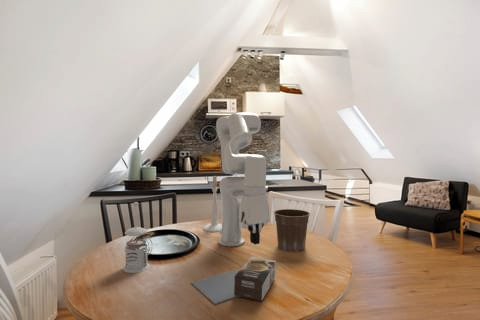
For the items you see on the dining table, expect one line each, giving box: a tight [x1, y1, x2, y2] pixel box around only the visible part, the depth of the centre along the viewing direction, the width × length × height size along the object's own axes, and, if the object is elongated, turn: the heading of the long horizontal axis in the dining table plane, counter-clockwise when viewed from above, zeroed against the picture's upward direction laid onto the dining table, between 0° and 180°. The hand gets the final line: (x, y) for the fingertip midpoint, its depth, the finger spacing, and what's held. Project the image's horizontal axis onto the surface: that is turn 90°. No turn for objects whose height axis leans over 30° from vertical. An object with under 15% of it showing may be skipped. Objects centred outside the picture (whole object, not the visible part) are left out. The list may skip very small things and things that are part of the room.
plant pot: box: [273, 208, 311, 252], centre depth 133 cm, size 16×16×16 cm
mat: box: [190, 269, 240, 306], centre depth 97 cm, size 16×18×1 cm
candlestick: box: [203, 175, 222, 233], centre depth 163 cm, size 13×13×30 cm
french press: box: [122, 201, 153, 274], centre depth 110 cm, size 10×12×25 cm
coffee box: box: [234, 256, 277, 302], centre depth 95 cm, size 9×6×16 cm
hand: (254, 242), depth 103 cm, fingers closed
